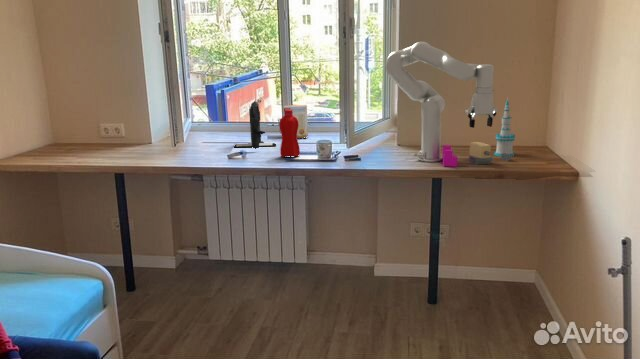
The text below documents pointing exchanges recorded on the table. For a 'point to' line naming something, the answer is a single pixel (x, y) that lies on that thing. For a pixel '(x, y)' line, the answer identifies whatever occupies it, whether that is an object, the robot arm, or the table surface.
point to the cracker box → (299, 118)
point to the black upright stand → (255, 129)
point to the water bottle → (289, 134)
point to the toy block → (449, 157)
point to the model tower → (505, 135)
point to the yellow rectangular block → (480, 149)
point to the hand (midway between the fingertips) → (480, 126)
